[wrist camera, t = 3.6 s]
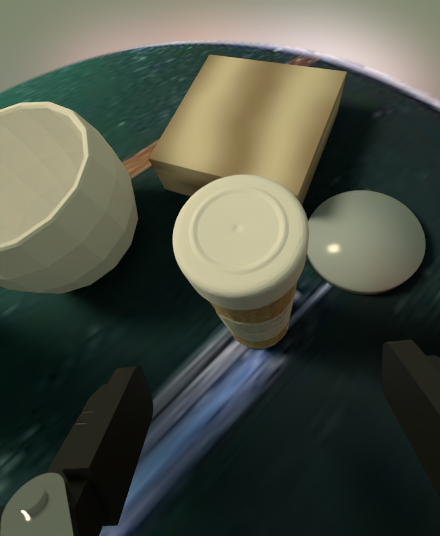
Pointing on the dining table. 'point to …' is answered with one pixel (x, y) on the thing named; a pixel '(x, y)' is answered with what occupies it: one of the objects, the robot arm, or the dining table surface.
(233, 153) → the birch block
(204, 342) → the dining table surface
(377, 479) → the dining table surface
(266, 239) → the sprinkles bottle
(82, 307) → the dining table surface
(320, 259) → the pale grey dome
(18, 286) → the cup
